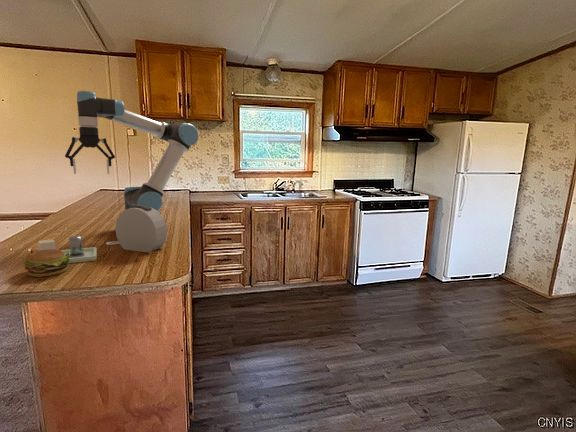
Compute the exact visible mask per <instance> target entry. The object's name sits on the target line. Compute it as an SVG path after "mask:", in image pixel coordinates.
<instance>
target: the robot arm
mask: <svg viewBox="0 0 576 432" xmlns="http://www.w3.org/2000/svg"><path fill="white" fill-rule="evenodd" d="M76 104H77V116H78V125H79V126H80V127H78V129H79V131H78V133H79V137H76V136H72V137H71V143H70V145H69V147H68V149H67V151H66V153H65V155H64V157H65V158H66V159H69V163H70V164H69V165H70V167H73V174H74V175H75V174H77V167H76V166H77V165H76V159H75V157H76V155H78V154H79V152H80V151H81V150H83V148H91V149H92V148H93V149H94V148H97V149H98V151H100V152H101V153H102V154H103V155H104V156H105V157H106V158H107V159H106V171H107V172H106V173H107V174H110V167H112V160H113V159H116V155H115V154H114V152H113V151H112V149H111V147H110V145H109V144H108V143H107V142H108V141H107V138H100V137H99V128H98V127H99V123H98V118H103V119H105V120H106V119H107V120H110V121H113V122H115V123H119V124H121V125H124V126H128V127H130V128H132V129H136V130H139V131H142V132H145V133H147V134H150V135H154V136H155V137H156V139H160V140H162V141H165V142H168V146H167V147H166V148H165V150H164V153H163V155H162V156H161V158H160V160H159V161H158V163H157V165H156V167H155V169H154V170H153V172H152V174H151V176H150V177H149V179H148V181H147V182H144V183H142V185H141V186H128V187H125V188H124V190H123V197H124V210H127V209H129V207H130V206H134V205H147V206H149V207H152V208H153V209H155V210H157V211H158V212H159V210H160V209H161V208H162V206H163V197H164V196H165V195H164V194H165V193H164V189H165V186H166V185H167V183H168V182H169V180H170V178H171V176H172V174H173V172H175V170H176V167H177V165H178V164H179V162H180V160H181V158H182V156H183V154H184V153H187V152H189V150H190V148H191V147H192V146H194V145H196V144H197V142H198V140H199V133H198V130H197V128H196V126H194V125H193V124H191V123H187V122H183V123H169V122H164V121H157V120H153V119H151V118H148V117H146V116H144V115H140V114H138V113H136V112H132V111H130V110H127V109H125V103H124V102H123V100H119V99H113V98H102V97H98V96H97V94H96V93H95V92H94V91H90V90H88V91H87V90H79V91H77V92H76ZM78 141H79V143H81V144H80V145H79V146H78V148H77V149H76V150H75V151H74V152H73V153H72V154H71V152H72V150H73V148H74V146H75V144H76V143H77V142H78ZM100 142H101V143H102V144H104V146H105V148H106V150H107V151H108V153H109V154H108V153H107V152H106V151H105V150H104V149H103V148H102V147H101V146H100V145H99V143H100Z"/></svg>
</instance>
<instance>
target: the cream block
mask: <svg viewBox="0 0 576 432" xmlns="http://www.w3.org/2000/svg"><path fill="white" fill-rule="evenodd" d="M37 242H38V251H40V250H45V249H56V250H57V248H56V247H57V246H56V241H55V240H54V239H53V238H51V239H45V240H44V239H43V240H38V241H37Z"/></svg>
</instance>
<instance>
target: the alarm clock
mask: <svg viewBox="0 0 576 432" xmlns="http://www.w3.org/2000/svg"><path fill="white" fill-rule="evenodd" d="M114 230H115V237H116V238H117V241H119V243H120V244H119V245H120V246H121V248H122V249H123V250H126V251H132V252H133V251H134V252H135V251H136V252H140V253H141V252H143V253H152V252H154V251H157V250H159V249H161V248H162V247H163V246H164V244H165V243H166V240H167V235H168V234H167V233H168V229H167V224H166V222H165V219H164V217H163V216H162V215H161V213H160V212H159V210H158V211H157V210H155V209H153V208H152V207H149V206H147V205H134V206H130V207H129V209H127V210H125V209H124V210H123V211H122V212H121V213H120V214H119V215H118V217H117V218H116V222H115V229H114Z"/></svg>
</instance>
